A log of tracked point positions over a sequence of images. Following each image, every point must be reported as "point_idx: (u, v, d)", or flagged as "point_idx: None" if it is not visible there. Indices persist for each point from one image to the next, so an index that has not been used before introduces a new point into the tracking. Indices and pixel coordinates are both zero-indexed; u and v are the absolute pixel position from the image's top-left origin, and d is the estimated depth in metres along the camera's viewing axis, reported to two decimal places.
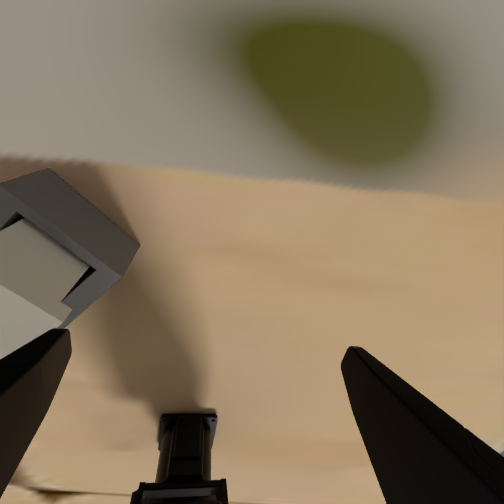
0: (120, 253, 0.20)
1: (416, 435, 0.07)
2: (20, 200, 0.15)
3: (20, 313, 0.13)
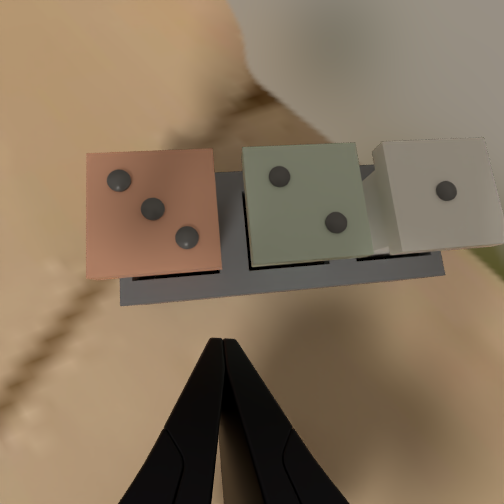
0: None
1: (238, 436, 0.06)
2: None
3: (487, 212, 0.14)
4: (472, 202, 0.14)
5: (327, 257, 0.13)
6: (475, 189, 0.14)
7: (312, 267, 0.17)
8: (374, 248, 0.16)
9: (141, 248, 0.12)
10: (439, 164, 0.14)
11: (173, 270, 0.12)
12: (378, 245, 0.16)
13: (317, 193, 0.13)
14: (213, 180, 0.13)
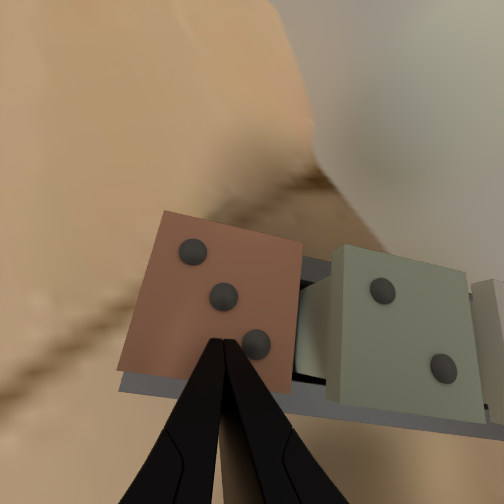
0: None
1: (238, 436, 0.06)
2: None
3: None
4: None
5: (430, 415, 0.09)
6: None
7: None
8: None
9: (197, 343, 0.09)
10: None
11: None
12: None
13: (423, 323, 0.10)
14: (298, 279, 0.11)
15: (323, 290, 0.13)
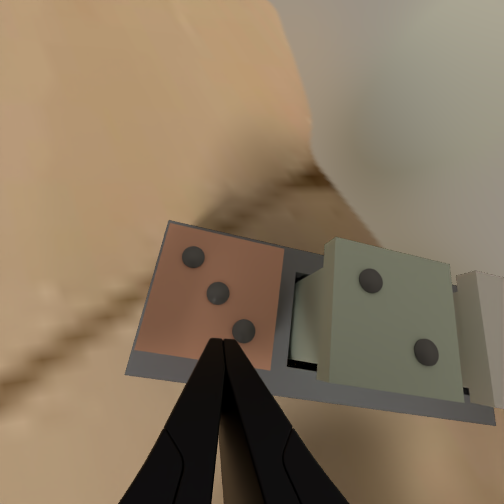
0: None
1: (238, 436, 0.06)
2: None
3: None
4: None
5: (412, 394, 0.10)
6: None
7: None
8: None
9: (196, 330, 0.12)
10: None
11: None
12: None
13: (408, 311, 0.11)
14: (279, 279, 0.13)
15: (317, 281, 0.14)
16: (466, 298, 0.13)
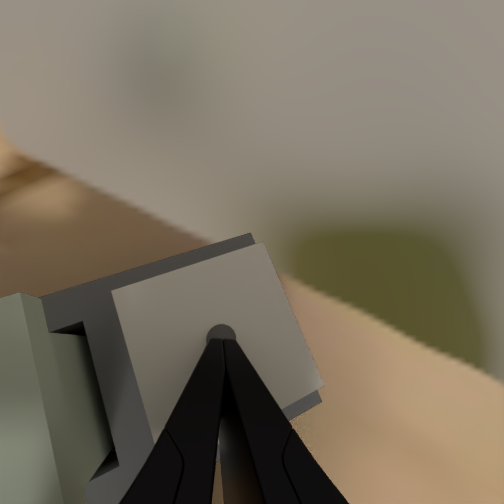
0: None
1: (238, 436, 0.06)
2: None
3: (286, 350, 0.10)
4: (262, 342, 0.10)
5: None
6: (263, 321, 0.10)
7: None
8: None
9: None
10: (206, 300, 0.10)
11: None
12: None
13: None
14: None
15: None
16: None
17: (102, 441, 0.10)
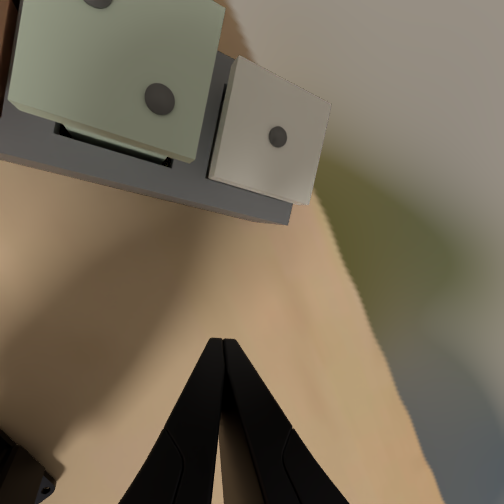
0: None
1: (238, 436, 0.06)
2: None
3: (303, 172, 0.15)
4: (295, 158, 0.15)
5: (132, 139, 0.10)
6: (303, 147, 0.15)
7: (148, 164, 0.14)
8: (209, 172, 0.16)
9: None
10: (283, 109, 0.14)
11: None
12: None
13: (147, 47, 0.09)
14: None
15: None
16: (229, 86, 0.13)
17: None
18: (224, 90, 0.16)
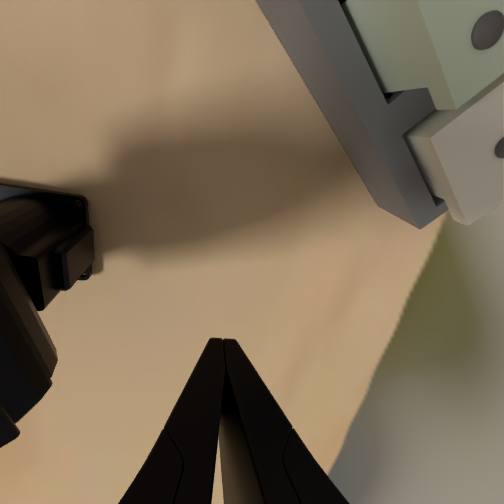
0: None
1: (238, 436, 0.06)
2: None
3: (492, 195, 0.14)
4: (498, 177, 0.14)
5: (434, 49, 0.09)
6: None
7: (375, 85, 0.13)
8: None
9: None
10: None
11: None
12: (410, 132, 0.15)
13: None
14: None
15: None
16: None
17: None
18: None
